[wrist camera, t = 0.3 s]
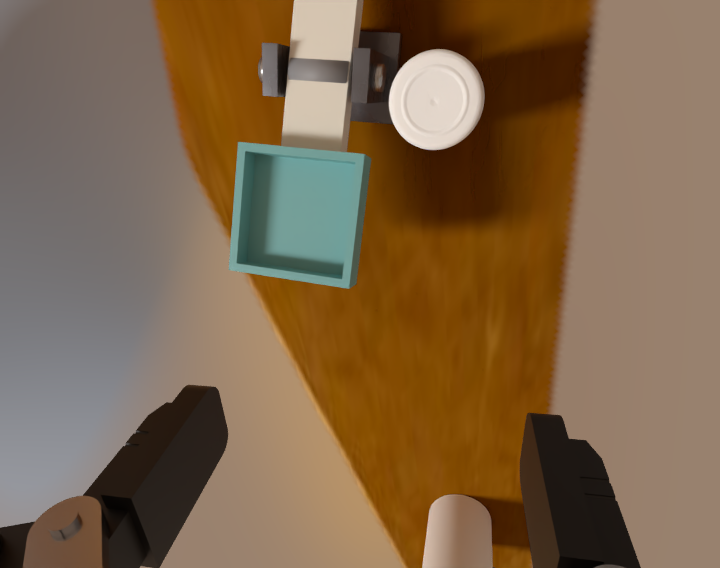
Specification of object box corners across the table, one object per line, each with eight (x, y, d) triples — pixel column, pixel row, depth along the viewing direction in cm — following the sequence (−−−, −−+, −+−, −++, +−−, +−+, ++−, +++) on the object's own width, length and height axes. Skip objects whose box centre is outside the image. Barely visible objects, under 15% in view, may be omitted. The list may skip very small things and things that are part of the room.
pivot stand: (296, 29, 35) (252, 14, 28) (402, 34, 33) (382, 19, 27) (295, 115, 37) (254, 119, 31) (394, 123, 36) (374, 130, 29)
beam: (287, -142, 30) (247, -225, 24) (413, -145, 28) (400, -235, 23) (253, 264, 34) (212, 273, 28) (361, 280, 32) (340, 293, 27)
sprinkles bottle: (485, 63, 33) (488, 44, 21) (481, 131, 35) (481, 151, 22) (420, 66, 34) (386, 50, 22) (419, 132, 36) (387, 151, 24)
